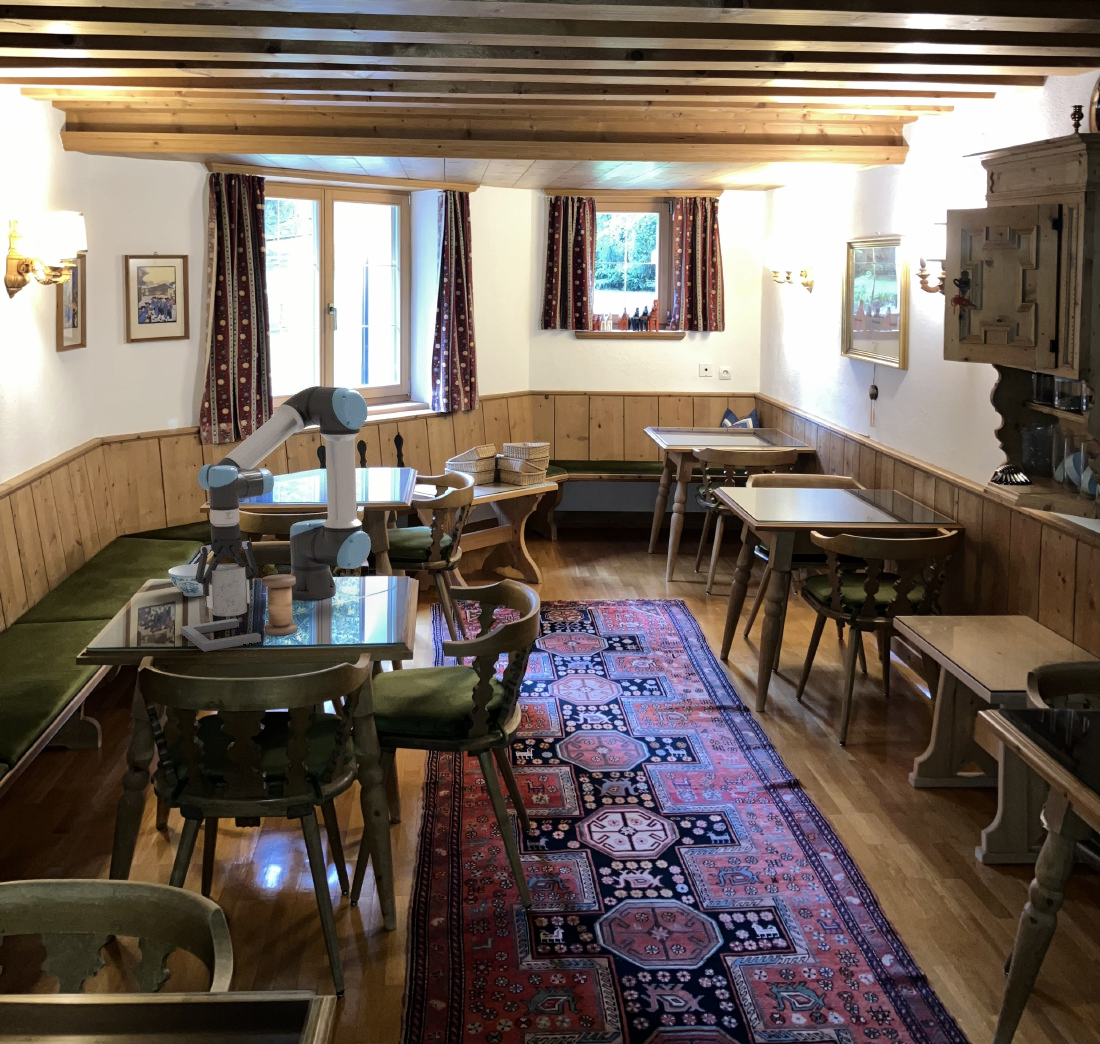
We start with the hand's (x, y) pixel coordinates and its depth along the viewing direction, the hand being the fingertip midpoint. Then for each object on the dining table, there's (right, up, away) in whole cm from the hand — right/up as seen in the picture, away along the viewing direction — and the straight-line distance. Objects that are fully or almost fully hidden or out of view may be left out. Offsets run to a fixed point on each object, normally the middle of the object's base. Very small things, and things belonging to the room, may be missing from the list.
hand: (228, 604), depth 315 cm
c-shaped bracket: (-2, -9, 0) cm, 9 cm away
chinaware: (-23, 0, +45) cm, 51 cm away
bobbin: (+12, -8, +7) cm, 17 cm away
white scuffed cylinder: (0, -2, 0) cm, 2 cm away
